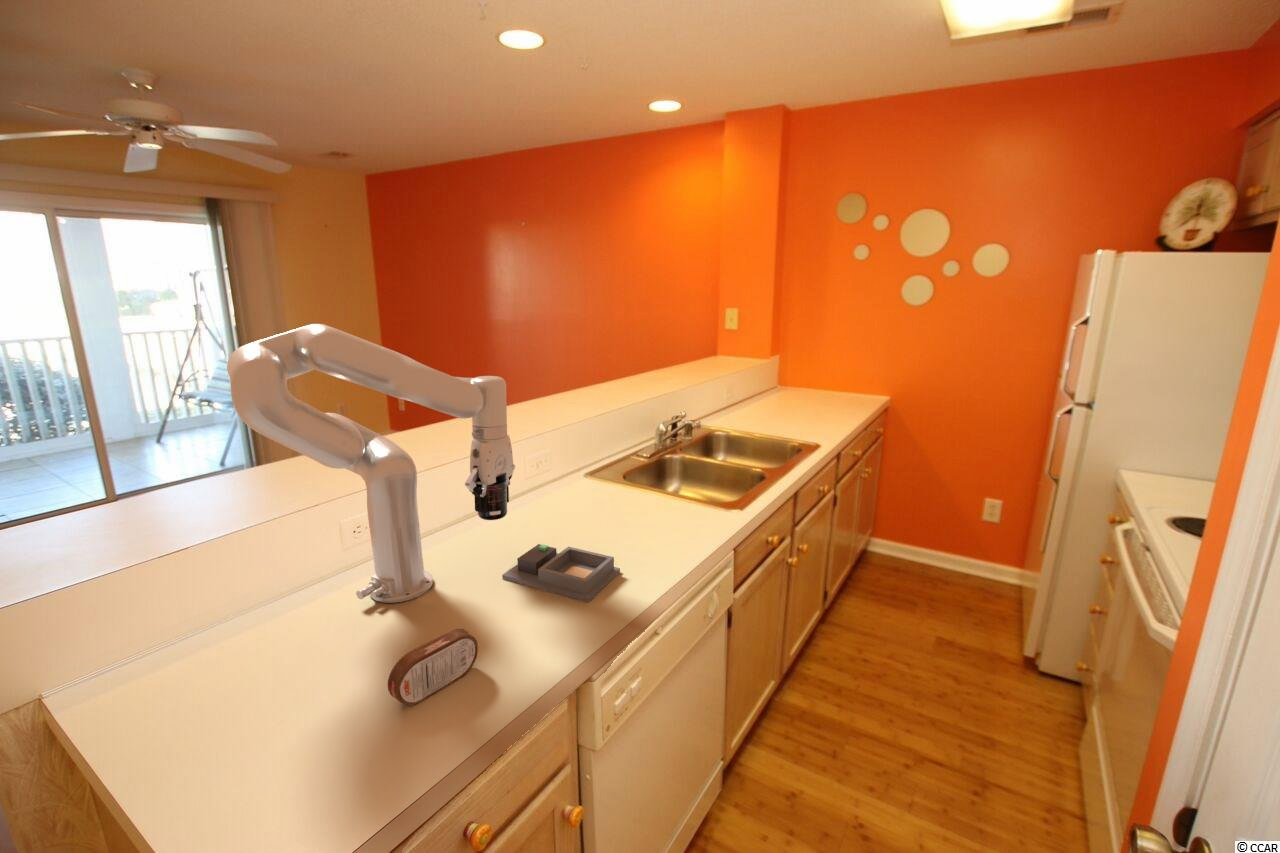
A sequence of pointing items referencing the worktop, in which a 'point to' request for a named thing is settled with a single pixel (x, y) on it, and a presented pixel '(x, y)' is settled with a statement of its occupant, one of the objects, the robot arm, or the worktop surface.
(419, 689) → the tin
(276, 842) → the worktop surface
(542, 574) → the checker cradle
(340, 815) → the worktop surface
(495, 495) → the supplement container
